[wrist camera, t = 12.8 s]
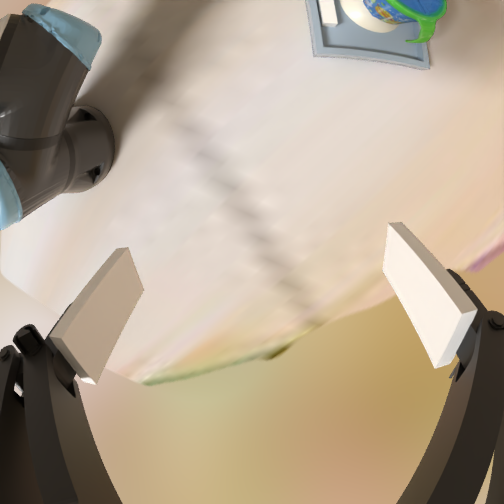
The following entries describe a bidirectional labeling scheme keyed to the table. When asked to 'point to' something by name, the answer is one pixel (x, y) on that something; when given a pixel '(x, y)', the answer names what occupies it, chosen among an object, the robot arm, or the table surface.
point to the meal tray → (362, 35)
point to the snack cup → (409, 14)
